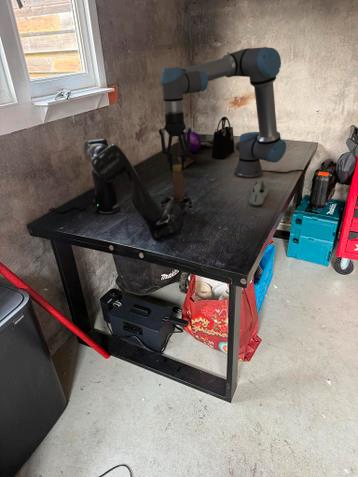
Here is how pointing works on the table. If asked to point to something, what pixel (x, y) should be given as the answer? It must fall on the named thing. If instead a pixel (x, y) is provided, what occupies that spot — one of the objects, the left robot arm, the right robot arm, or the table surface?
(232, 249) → the table surface
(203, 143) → the pair of gloves
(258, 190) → the ballet flat
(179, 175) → the bottle
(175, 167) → the cap
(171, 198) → the left robot arm
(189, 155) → the boot
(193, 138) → the decorative orb
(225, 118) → the handbag
